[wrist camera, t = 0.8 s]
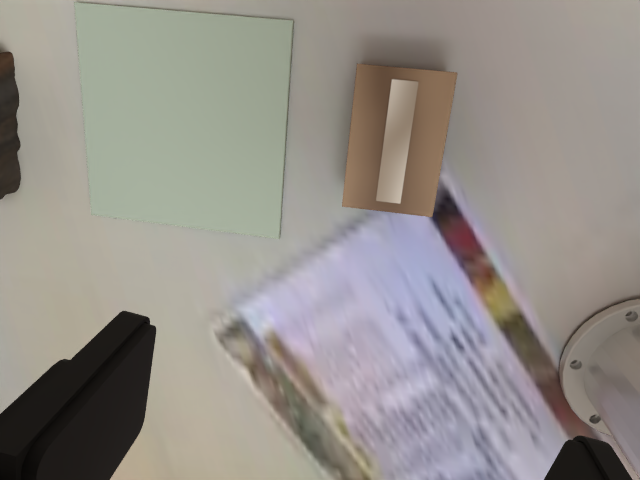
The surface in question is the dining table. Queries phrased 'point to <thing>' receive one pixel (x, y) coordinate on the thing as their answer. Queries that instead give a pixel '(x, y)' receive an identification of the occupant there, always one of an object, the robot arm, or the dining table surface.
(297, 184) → the dining table surface
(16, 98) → the brown rock
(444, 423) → the dining table surface
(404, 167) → the cardboard box
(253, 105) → the mat
